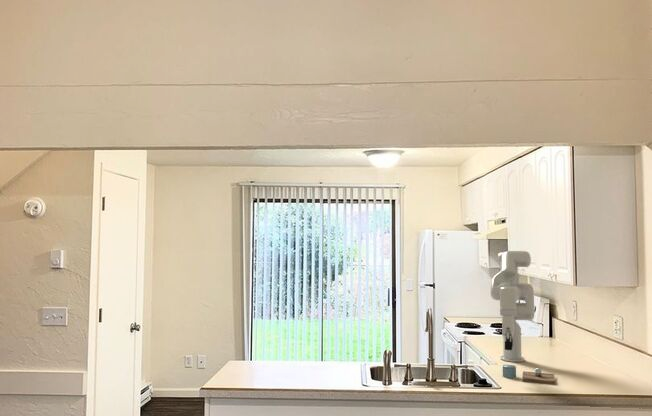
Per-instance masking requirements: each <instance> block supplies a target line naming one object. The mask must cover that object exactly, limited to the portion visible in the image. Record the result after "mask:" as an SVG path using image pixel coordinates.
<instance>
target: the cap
mask: <svg viewBox="0 0 652 416" xmlns="http://www.w3.org/2000/svg"><path fill="white" fill-rule="evenodd" d="M502 378H506V379H517V366H516V365H514V364H503V365H502Z"/></svg>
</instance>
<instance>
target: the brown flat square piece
mask: <svg viewBox="0 0 652 416" xmlns="http://www.w3.org/2000/svg"><path fill="white" fill-rule="evenodd" d="M521 378H522V382H523V383H524V382H525V383H535V384H542V385H543V384H544V385H554V386H555V385H556V378H555V374H554V373H546V372H542V377H536V376H535V371H534V372H533V371H522V377H521Z"/></svg>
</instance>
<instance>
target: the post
mask: <svg viewBox="0 0 652 416" xmlns="http://www.w3.org/2000/svg"><path fill="white" fill-rule="evenodd" d="M534 372H535V376H536V377H542V373H543V371H542V368H541V367H535V368H534Z"/></svg>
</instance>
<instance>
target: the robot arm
mask: <svg viewBox="0 0 652 416" xmlns="http://www.w3.org/2000/svg"><path fill="white" fill-rule="evenodd" d="M497 262H498V265H499V268H500V271H498V272H497V274H495V275H494V276H493V278H492V279H491V282H490V283H491V284H490V296H491V299H493V301H494V300H495V301H499V316H501V324H502V325H501V328H502V329H501V336H502V340H503V341H502V348H503V349H502V350H503V351H502V352H503V355H501V356H500V360H502V361H505V362H512V363H522V362H524V361H525V357H523V356H522V327H521V326H520V324H519V323H518V322H517V321H532V320H534V318H535V296H534V295H535V294H534V288H533V286H532V284H530V283H524V282H522V283H521V282H520V274H519V272H518V271H519V268H529V267H530V266H531V262H532V257H531V255H530V253H529V252H528V251H525V250H507V251H501V252H499V253H498V254H497ZM501 284H503V285H501ZM517 301H524V302H517Z"/></svg>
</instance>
